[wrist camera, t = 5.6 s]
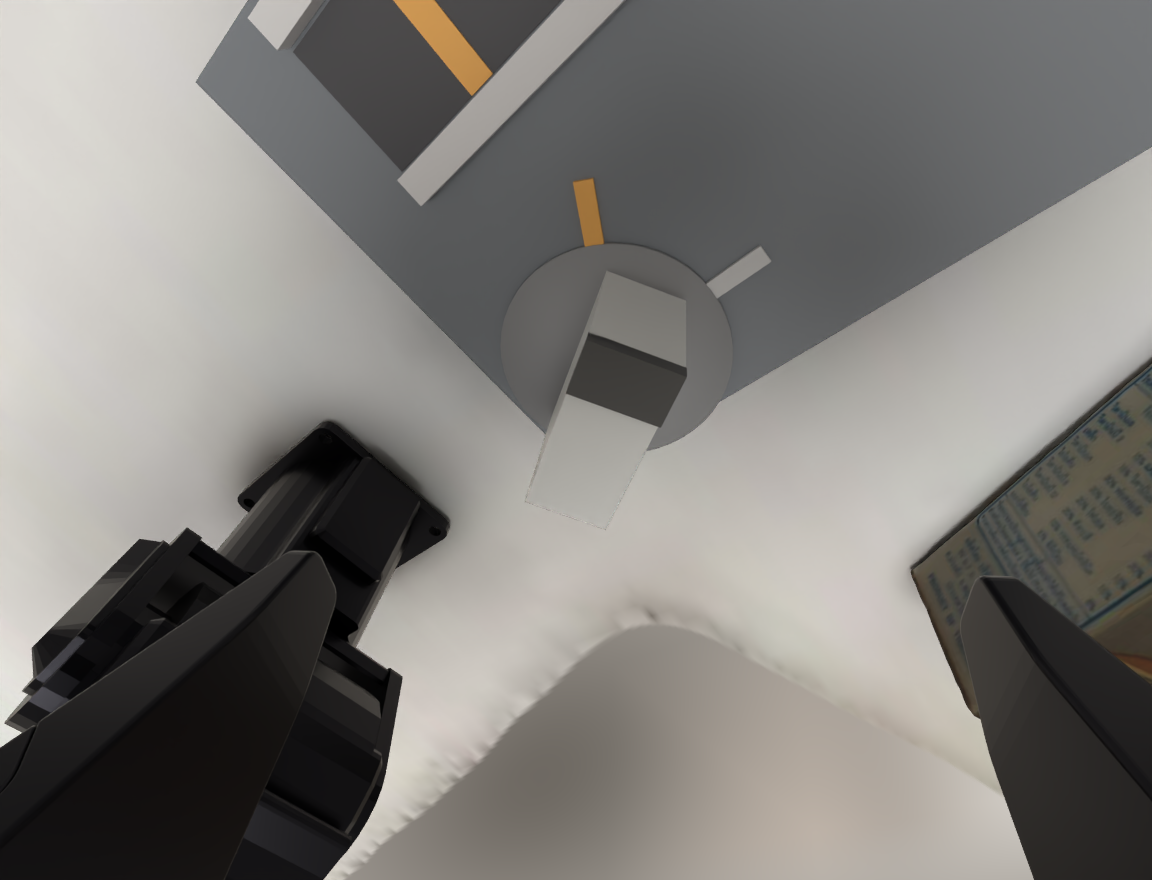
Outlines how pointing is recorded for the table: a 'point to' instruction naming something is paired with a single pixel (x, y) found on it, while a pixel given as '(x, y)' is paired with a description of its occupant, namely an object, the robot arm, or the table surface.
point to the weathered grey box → (1065, 538)
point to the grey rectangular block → (611, 400)
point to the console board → (681, 155)
